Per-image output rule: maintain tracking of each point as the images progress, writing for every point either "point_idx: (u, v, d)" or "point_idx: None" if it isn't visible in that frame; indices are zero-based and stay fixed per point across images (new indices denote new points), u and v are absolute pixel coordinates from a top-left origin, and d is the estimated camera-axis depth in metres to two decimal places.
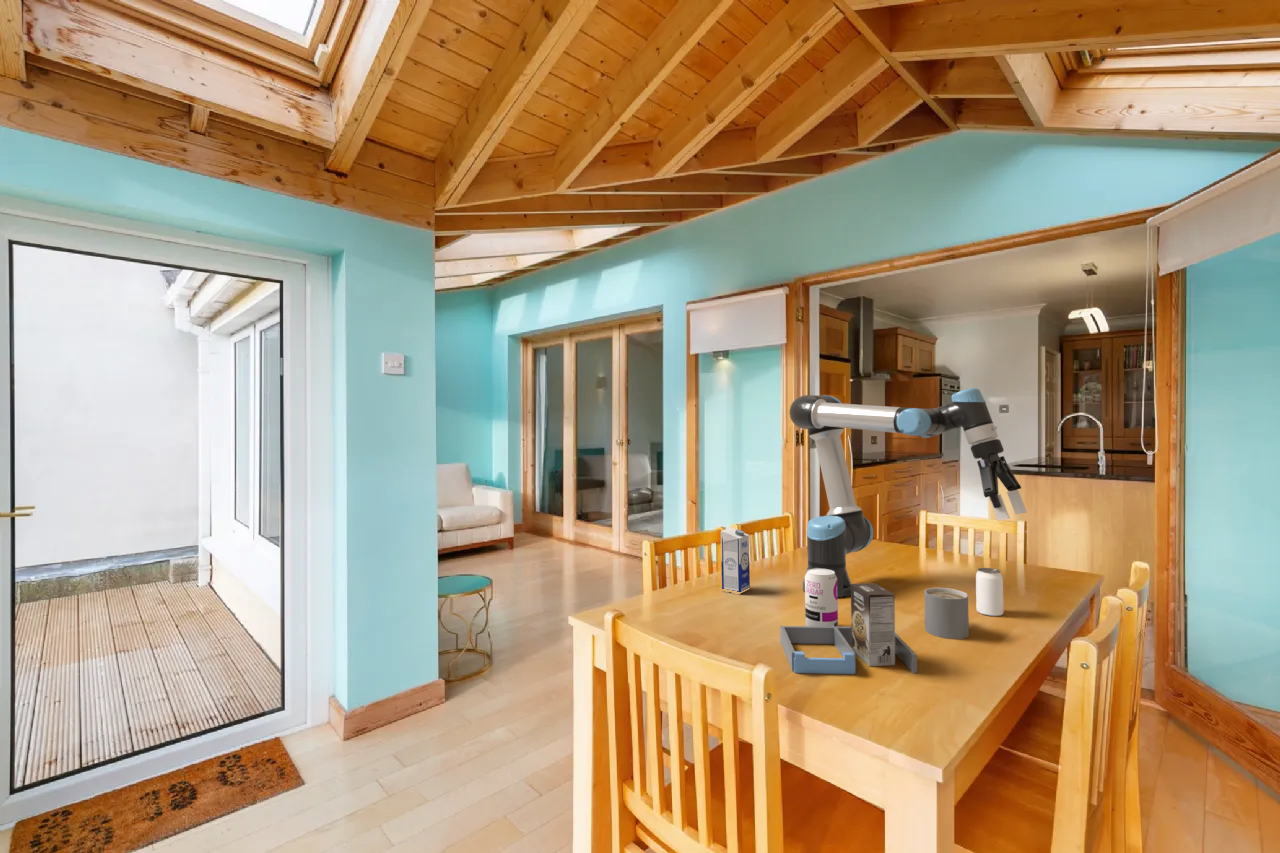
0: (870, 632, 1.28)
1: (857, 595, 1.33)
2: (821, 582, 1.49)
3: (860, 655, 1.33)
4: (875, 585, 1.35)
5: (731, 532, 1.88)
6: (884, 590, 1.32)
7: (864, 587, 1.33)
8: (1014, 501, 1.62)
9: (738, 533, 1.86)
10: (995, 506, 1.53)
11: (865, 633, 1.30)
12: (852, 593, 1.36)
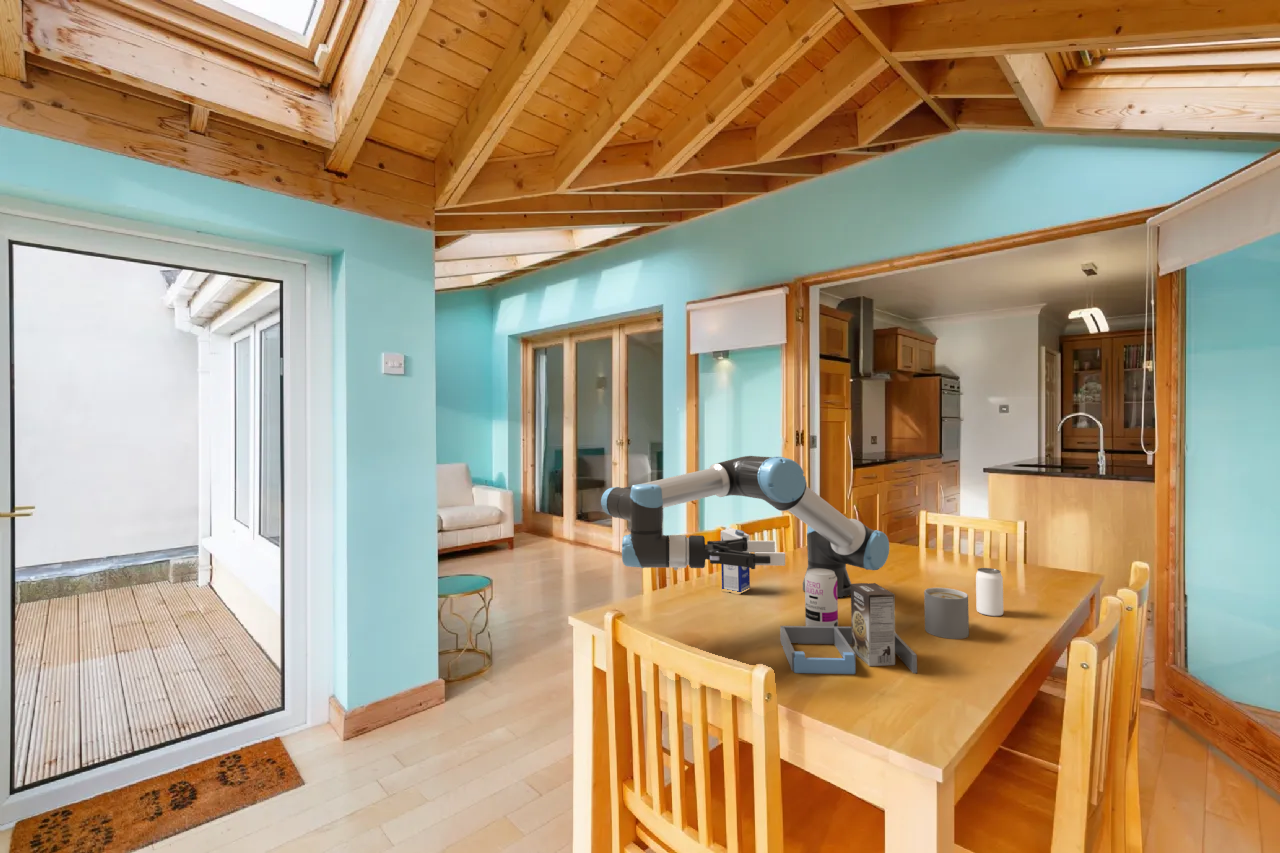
0: (870, 632, 1.28)
1: (857, 595, 1.33)
2: (821, 582, 1.49)
3: (860, 655, 1.33)
4: (875, 585, 1.35)
5: (731, 532, 1.88)
6: (884, 590, 1.32)
7: (864, 587, 1.33)
8: None
9: (738, 533, 1.86)
10: None
11: (865, 633, 1.30)
12: (852, 593, 1.36)
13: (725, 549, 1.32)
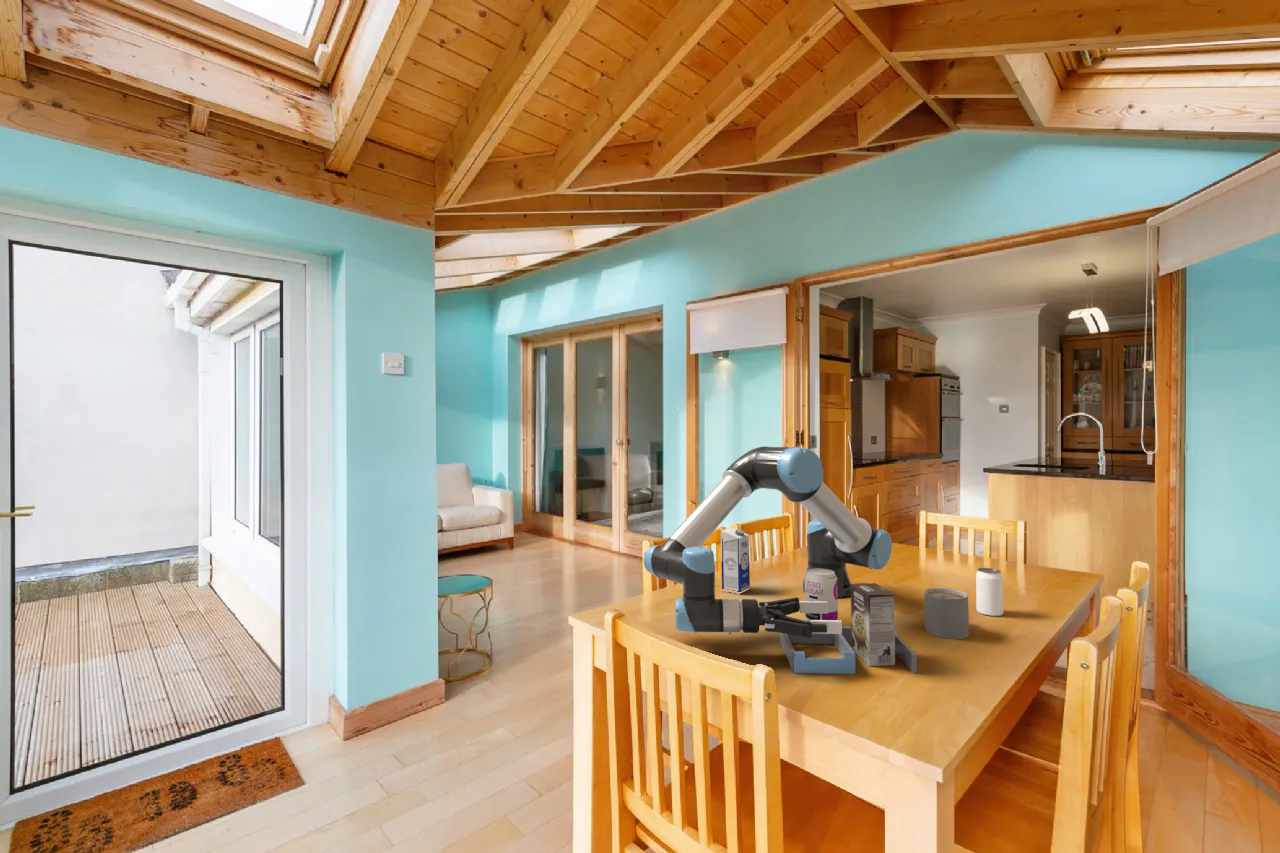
0: (870, 632, 1.28)
1: (857, 595, 1.33)
2: (821, 582, 1.49)
3: (860, 655, 1.33)
4: (875, 585, 1.35)
5: (731, 532, 1.88)
6: (884, 590, 1.32)
7: (864, 587, 1.33)
8: None
9: (738, 533, 1.86)
10: None
11: (865, 633, 1.30)
12: (852, 593, 1.36)
13: (780, 615, 1.31)
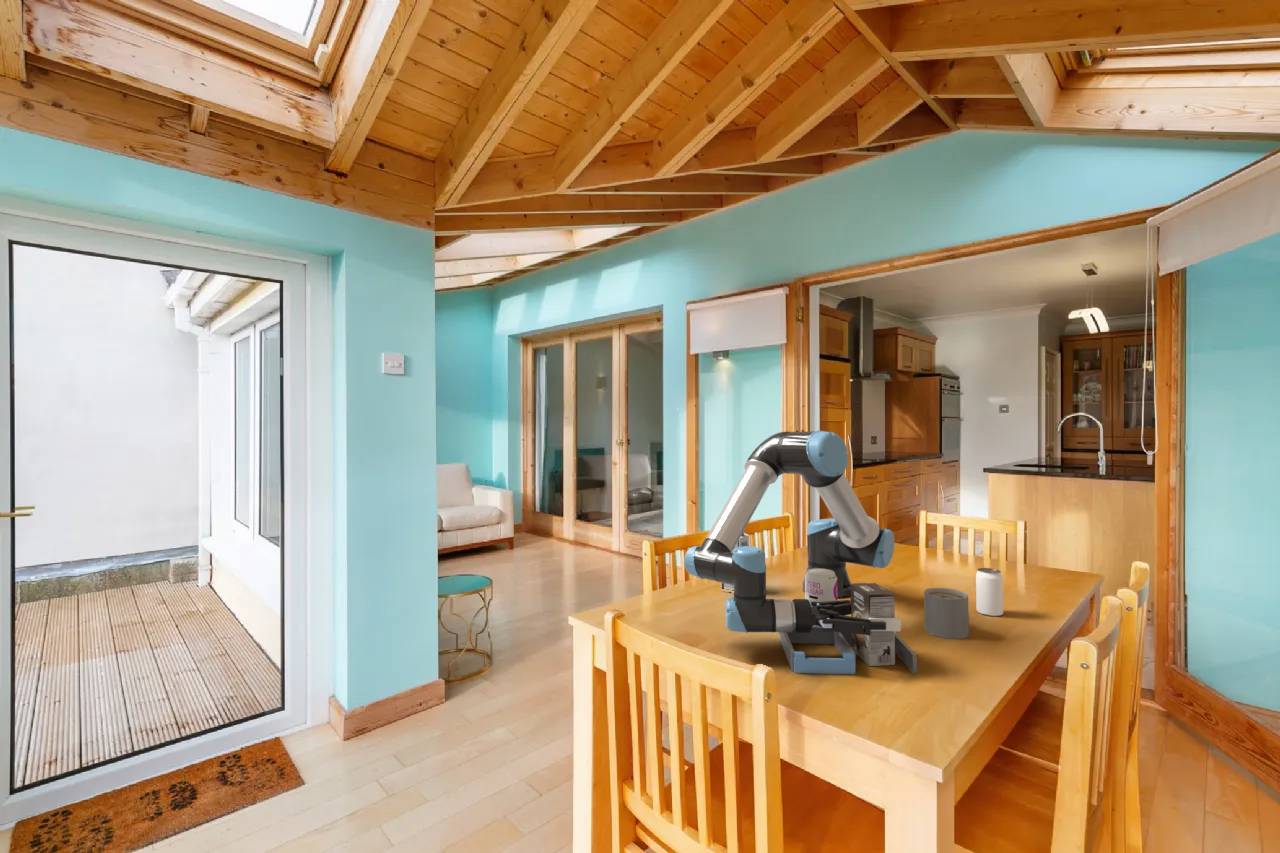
0: None
1: (857, 595, 1.33)
2: (821, 582, 1.49)
3: (860, 655, 1.33)
4: (875, 585, 1.36)
5: None
6: (884, 590, 1.32)
7: (864, 587, 1.33)
8: None
9: None
10: None
11: None
12: (852, 593, 1.36)
13: (835, 614, 1.30)
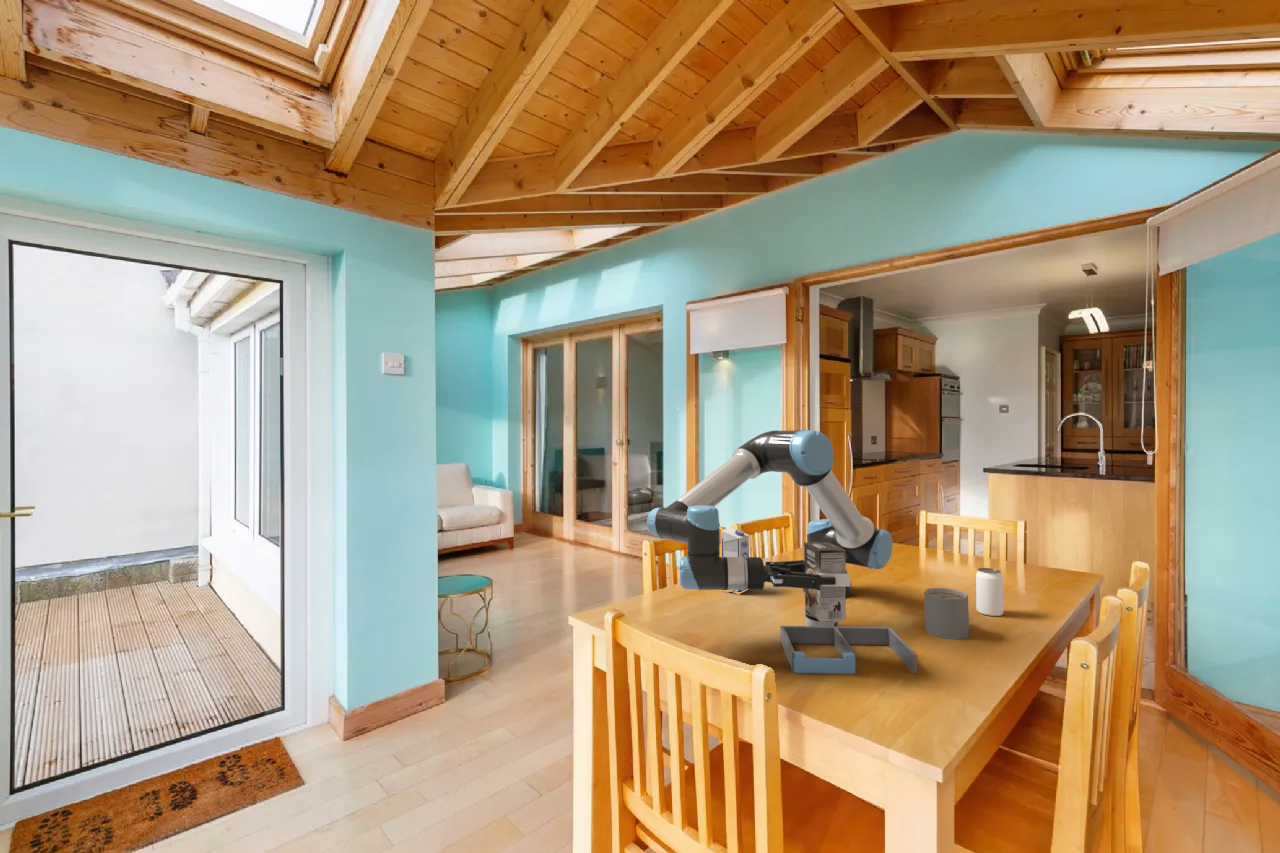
0: None
1: (809, 553, 1.34)
2: None
3: (812, 612, 1.33)
4: (828, 543, 1.36)
5: (731, 532, 1.88)
6: (836, 547, 1.32)
7: (817, 545, 1.34)
8: None
9: (738, 533, 1.86)
10: None
11: None
12: (805, 552, 1.37)
13: (786, 571, 1.31)
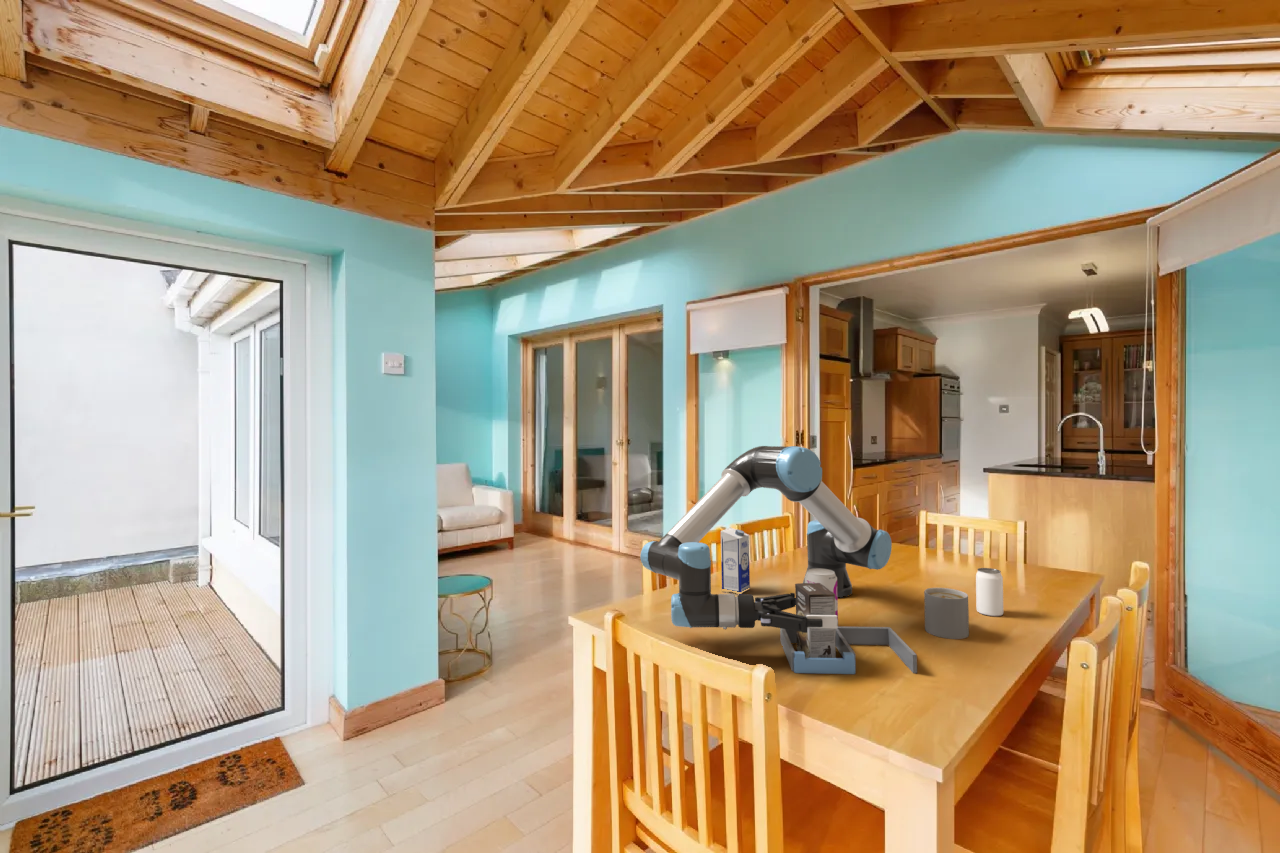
0: (810, 631, 1.29)
1: (800, 595, 1.34)
2: (821, 582, 1.49)
3: None
4: (819, 585, 1.36)
5: (731, 532, 1.88)
6: (826, 590, 1.33)
7: (807, 587, 1.34)
8: None
9: (738, 533, 1.86)
10: None
11: None
12: (796, 593, 1.37)
13: (775, 610, 1.31)
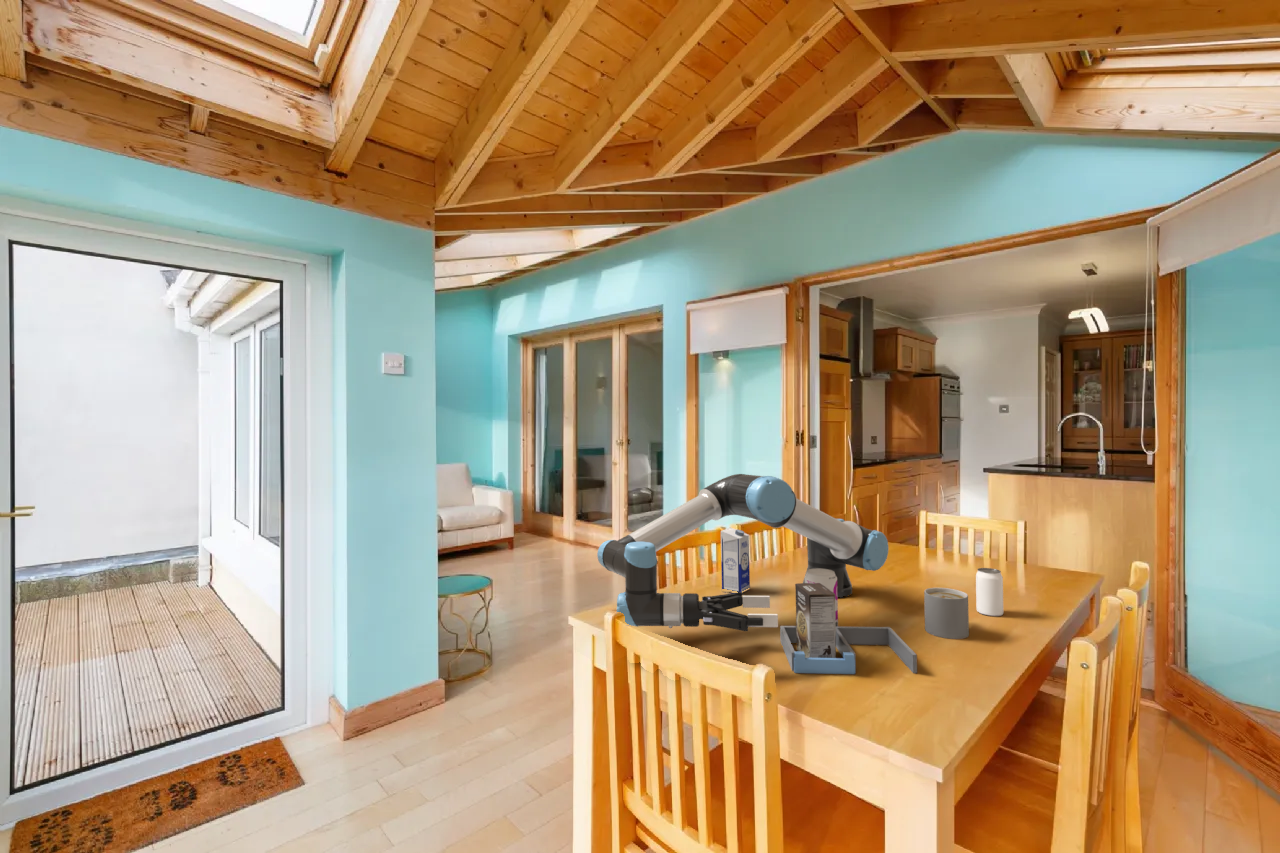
0: (810, 631, 1.29)
1: (800, 595, 1.34)
2: (821, 582, 1.49)
3: None
4: (819, 585, 1.36)
5: (731, 532, 1.88)
6: (826, 590, 1.33)
7: (807, 587, 1.34)
8: None
9: (738, 533, 1.86)
10: None
11: (806, 632, 1.31)
12: (796, 593, 1.37)
13: (719, 609, 1.32)
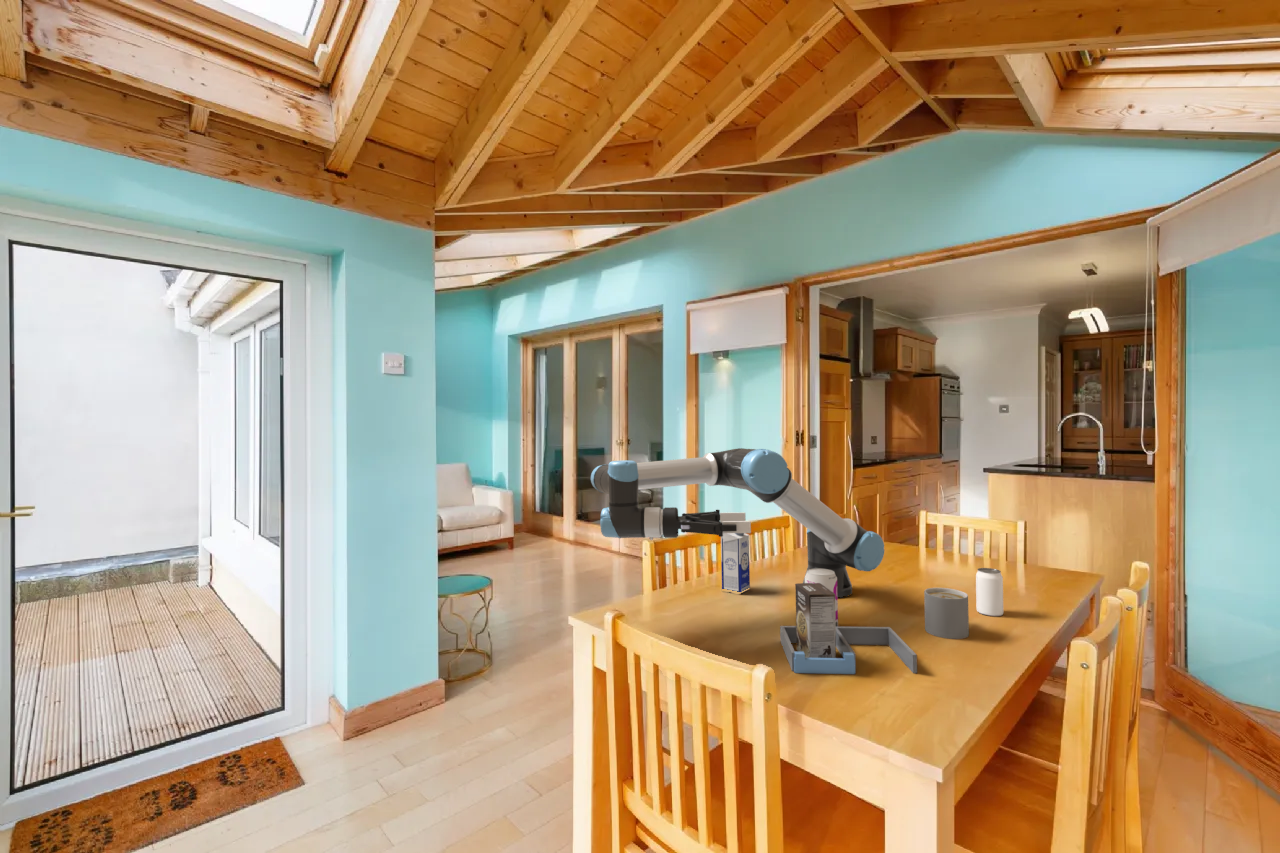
0: (810, 631, 1.29)
1: (800, 595, 1.34)
2: (821, 582, 1.49)
3: None
4: (819, 585, 1.36)
5: None
6: (826, 590, 1.33)
7: (807, 587, 1.34)
8: None
9: (738, 533, 1.86)
10: None
11: (806, 632, 1.31)
12: (796, 593, 1.37)
13: (696, 519, 1.41)
